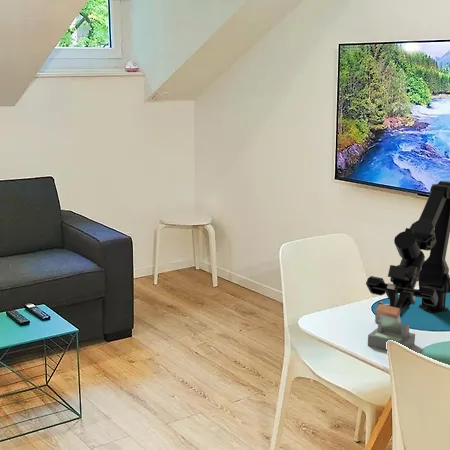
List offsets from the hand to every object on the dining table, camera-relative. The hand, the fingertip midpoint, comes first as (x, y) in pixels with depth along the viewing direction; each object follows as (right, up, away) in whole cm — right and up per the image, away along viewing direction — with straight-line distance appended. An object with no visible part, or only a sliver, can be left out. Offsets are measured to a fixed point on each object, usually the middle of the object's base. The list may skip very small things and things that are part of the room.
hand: (391, 318), depth 190 cm
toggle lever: (+1, -4, +2) cm, 5 cm away
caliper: (+6, -2, +26) cm, 26 cm away
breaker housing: (+1, -7, +3) cm, 8 cm away
